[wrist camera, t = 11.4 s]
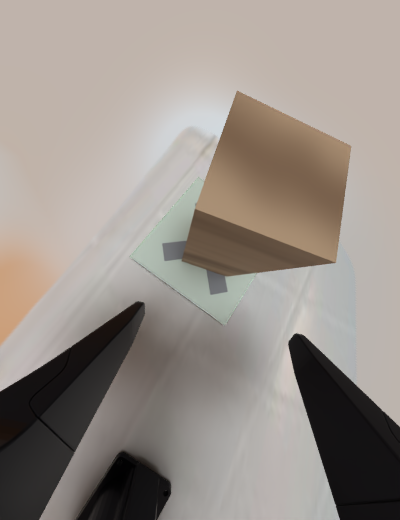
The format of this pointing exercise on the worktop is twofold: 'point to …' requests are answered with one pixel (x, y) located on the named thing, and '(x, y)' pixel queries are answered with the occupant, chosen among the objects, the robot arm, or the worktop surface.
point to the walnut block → (269, 195)
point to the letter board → (181, 273)
